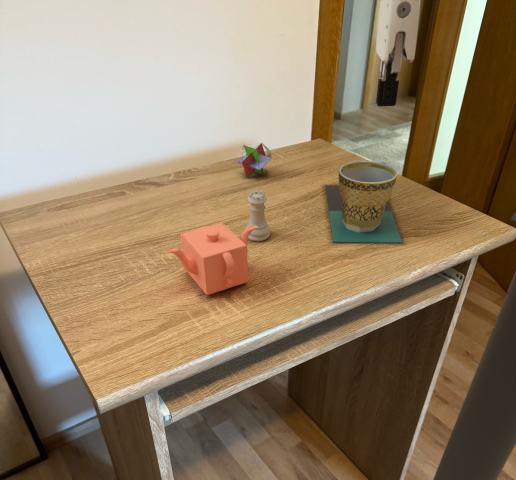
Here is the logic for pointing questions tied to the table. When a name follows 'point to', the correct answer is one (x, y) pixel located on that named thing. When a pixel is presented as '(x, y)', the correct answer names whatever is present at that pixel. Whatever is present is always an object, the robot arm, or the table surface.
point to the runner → (341, 234)
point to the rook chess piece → (258, 217)
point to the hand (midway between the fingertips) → (385, 104)
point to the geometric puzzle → (255, 159)
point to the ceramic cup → (365, 193)
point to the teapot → (215, 257)
